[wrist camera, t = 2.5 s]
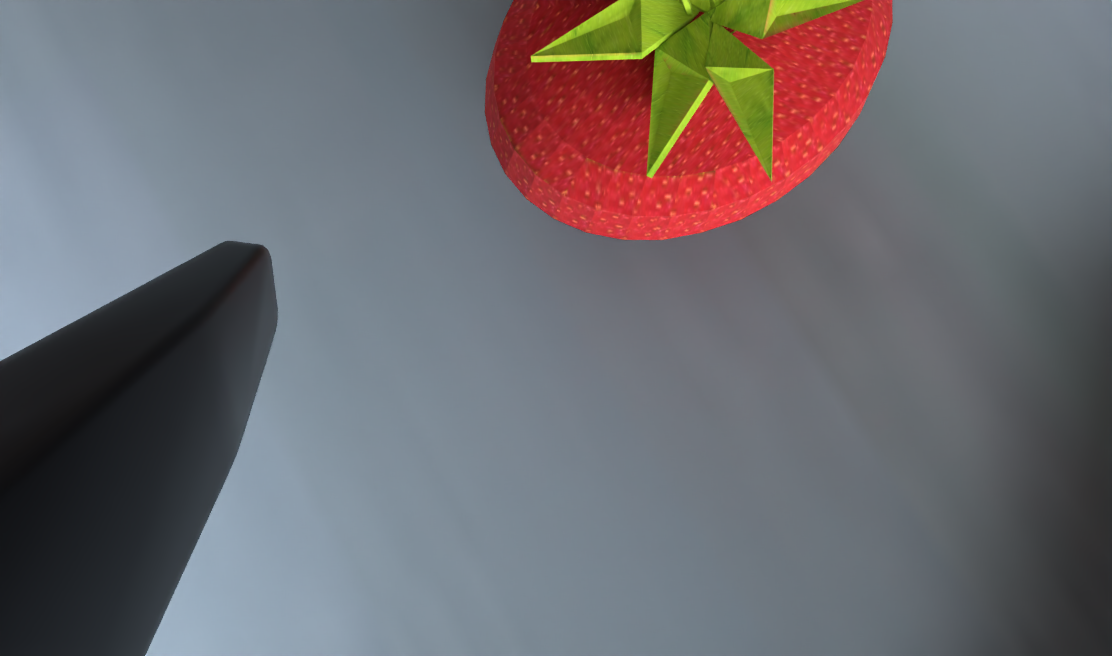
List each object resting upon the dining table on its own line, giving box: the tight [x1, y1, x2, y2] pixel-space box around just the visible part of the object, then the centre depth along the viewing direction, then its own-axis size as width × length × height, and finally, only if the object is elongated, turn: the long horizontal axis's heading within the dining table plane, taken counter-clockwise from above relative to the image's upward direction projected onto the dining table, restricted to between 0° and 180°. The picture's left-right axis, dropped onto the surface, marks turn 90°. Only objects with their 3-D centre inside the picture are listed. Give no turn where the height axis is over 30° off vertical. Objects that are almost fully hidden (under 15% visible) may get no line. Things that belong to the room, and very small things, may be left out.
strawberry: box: [485, 0, 892, 240], centre depth 17 cm, size 6×8×10 cm
